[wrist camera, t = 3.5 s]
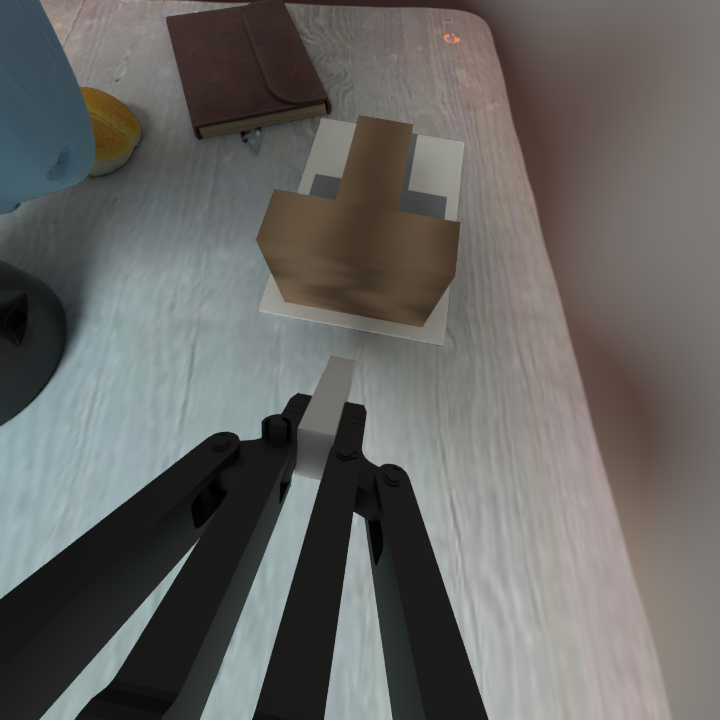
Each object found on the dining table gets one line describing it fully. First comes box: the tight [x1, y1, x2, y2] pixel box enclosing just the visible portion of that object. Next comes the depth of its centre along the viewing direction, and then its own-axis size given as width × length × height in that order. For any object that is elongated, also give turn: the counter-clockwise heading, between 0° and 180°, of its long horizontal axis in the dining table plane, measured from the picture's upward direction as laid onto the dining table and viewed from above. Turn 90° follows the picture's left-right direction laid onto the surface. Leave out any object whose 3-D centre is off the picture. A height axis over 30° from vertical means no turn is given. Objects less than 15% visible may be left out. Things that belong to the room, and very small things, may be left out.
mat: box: [259, 118, 464, 346], centre depth 27 cm, size 16×24×1 cm, turn 169°
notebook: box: [166, 0, 331, 140], centre depth 32 cm, size 15×20×2 cm
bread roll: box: [80, 87, 142, 176], centre depth 27 cm, size 8×9×4 cm
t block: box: [256, 115, 460, 327], centre depth 21 cm, size 12×12×8 cm
